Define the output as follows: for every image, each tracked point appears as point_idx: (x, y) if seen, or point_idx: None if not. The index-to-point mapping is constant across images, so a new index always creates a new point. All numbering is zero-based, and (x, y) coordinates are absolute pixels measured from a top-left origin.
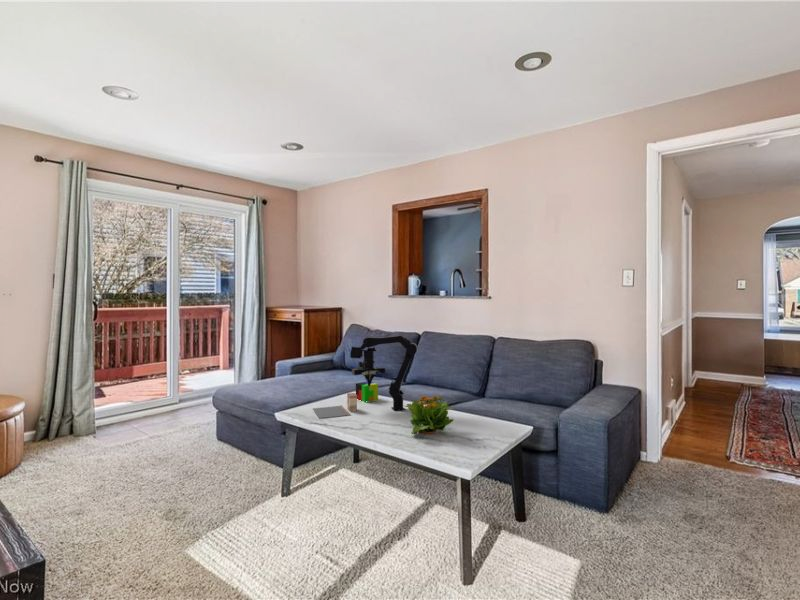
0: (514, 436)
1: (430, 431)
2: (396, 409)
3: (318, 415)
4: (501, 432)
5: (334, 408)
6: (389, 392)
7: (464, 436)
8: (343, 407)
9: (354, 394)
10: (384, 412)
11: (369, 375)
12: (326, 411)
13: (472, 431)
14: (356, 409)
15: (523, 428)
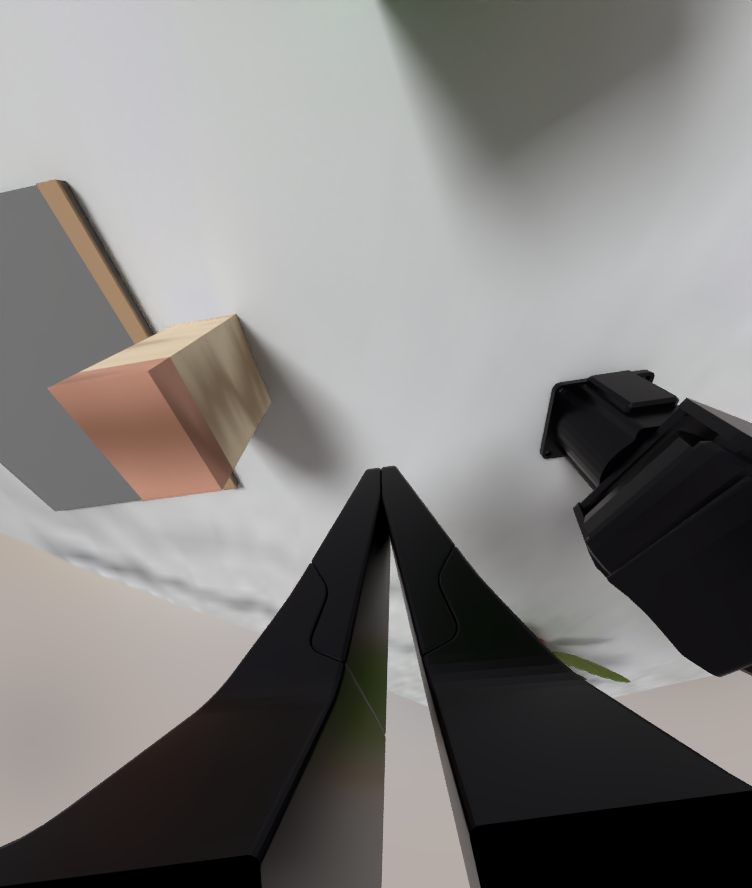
0: (689, 678)
1: None
2: (560, 447)
3: (15, 469)
4: (693, 665)
5: (34, 303)
6: (588, 547)
7: (580, 671)
8: (121, 298)
9: (183, 458)
10: (461, 465)
11: (443, 753)
12: (13, 389)
13: (632, 656)
14: (264, 408)
15: None
